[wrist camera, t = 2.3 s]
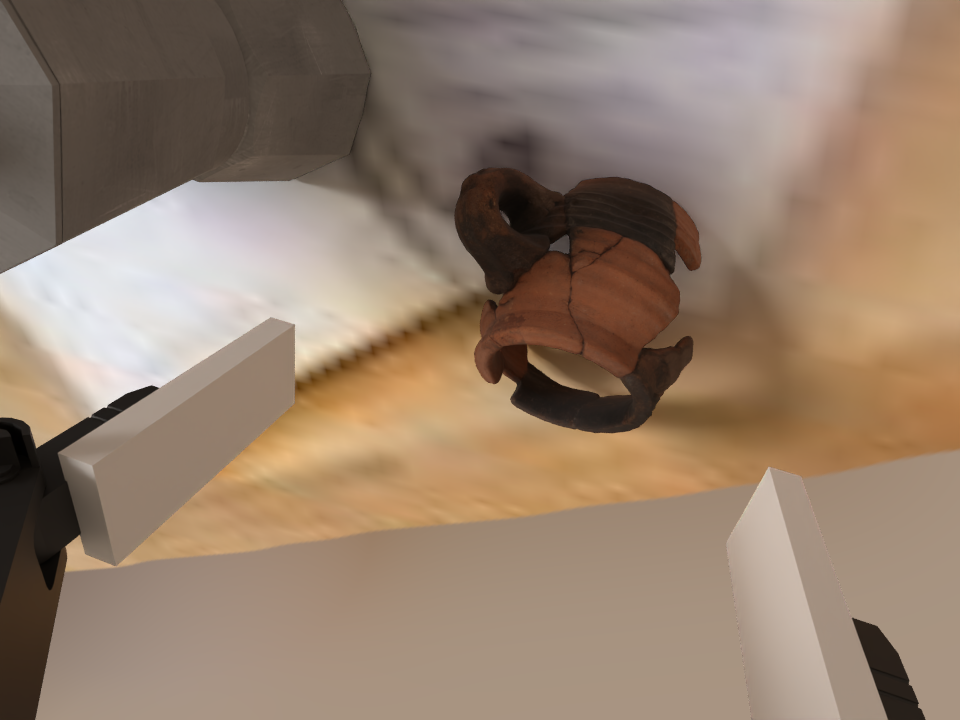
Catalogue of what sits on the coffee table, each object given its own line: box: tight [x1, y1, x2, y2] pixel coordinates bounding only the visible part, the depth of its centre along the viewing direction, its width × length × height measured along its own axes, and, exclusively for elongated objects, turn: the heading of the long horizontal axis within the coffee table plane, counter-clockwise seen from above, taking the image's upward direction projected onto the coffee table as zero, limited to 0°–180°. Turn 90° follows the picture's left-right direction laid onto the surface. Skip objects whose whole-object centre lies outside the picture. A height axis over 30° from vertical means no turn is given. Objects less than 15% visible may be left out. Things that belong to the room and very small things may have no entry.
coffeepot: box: [0, 0, 371, 274], centre depth 18 cm, size 15×9×18 cm, turn 135°
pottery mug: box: [454, 168, 701, 433], centre depth 23 cm, size 12×10×8 cm
